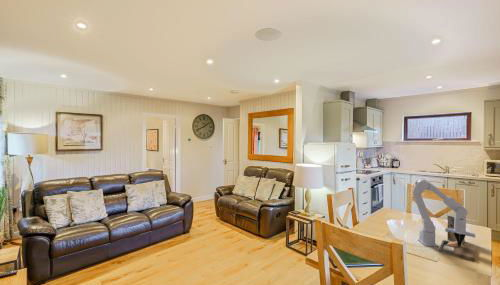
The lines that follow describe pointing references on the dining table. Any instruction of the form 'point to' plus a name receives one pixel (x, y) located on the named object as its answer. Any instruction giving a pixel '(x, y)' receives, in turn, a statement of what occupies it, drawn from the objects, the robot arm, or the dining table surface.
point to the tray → (444, 249)
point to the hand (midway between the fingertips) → (459, 245)
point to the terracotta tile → (452, 244)
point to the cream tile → (448, 248)
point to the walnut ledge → (465, 252)
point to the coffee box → (451, 226)
